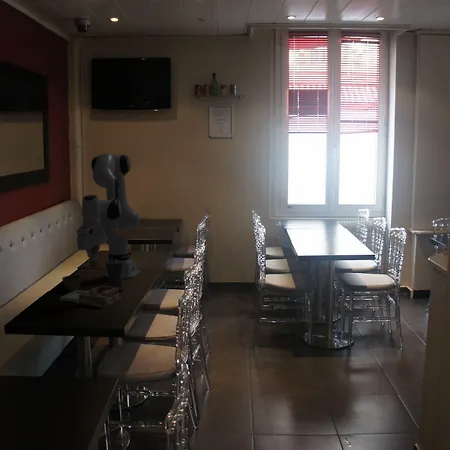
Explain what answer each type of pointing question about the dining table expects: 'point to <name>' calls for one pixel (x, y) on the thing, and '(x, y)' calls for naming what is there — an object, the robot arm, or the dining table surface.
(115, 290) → the offcut oak
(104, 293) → the offcut pine
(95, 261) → the sprinkles bottle
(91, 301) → the rack
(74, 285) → the flower pot
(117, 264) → the coffeepot
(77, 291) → the tray
